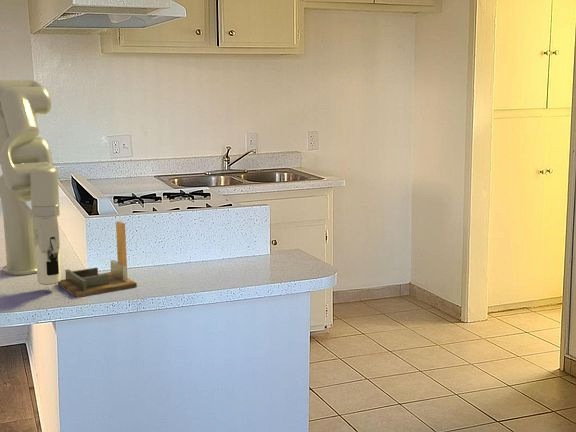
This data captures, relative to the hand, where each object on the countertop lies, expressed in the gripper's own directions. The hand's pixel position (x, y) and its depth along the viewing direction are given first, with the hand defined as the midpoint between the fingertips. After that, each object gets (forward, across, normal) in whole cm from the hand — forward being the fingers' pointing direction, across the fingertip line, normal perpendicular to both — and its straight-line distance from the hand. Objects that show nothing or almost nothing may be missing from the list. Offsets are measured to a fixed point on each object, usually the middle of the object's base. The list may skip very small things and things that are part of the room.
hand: (48, 270), depth 224 cm
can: (+3, 0, 0) cm, 3 cm away
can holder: (+5, +3, +10) cm, 12 cm away
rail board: (+6, +3, +12) cm, 14 cm away
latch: (+4, +3, +20) cm, 21 cm away
